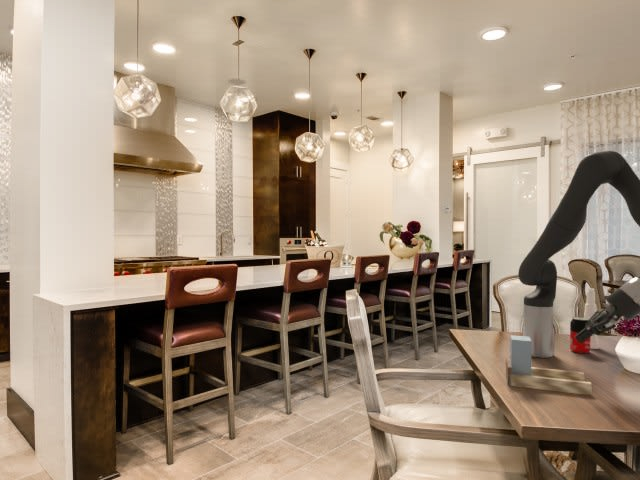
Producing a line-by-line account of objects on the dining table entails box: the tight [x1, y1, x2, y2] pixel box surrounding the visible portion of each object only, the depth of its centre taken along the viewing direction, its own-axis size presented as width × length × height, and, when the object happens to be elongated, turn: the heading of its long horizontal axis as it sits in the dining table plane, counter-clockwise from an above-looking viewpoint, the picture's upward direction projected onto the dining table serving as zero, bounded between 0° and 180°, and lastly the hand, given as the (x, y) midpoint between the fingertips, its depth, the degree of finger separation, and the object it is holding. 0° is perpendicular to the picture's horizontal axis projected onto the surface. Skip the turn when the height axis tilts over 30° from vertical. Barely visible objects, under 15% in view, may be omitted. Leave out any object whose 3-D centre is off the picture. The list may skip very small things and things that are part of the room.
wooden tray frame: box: [505, 357, 593, 396], centre depth 122 cm, size 20×10×5 cm, turn 70°
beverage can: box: [569, 316, 591, 354], centre depth 158 cm, size 6×6×12 cm
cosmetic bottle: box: [583, 287, 601, 350], centre depth 165 cm, size 6×6×22 cm
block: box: [509, 334, 532, 375], centre depth 124 cm, size 5×6×11 cm
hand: (577, 340), depth 119 cm, fingers closed
